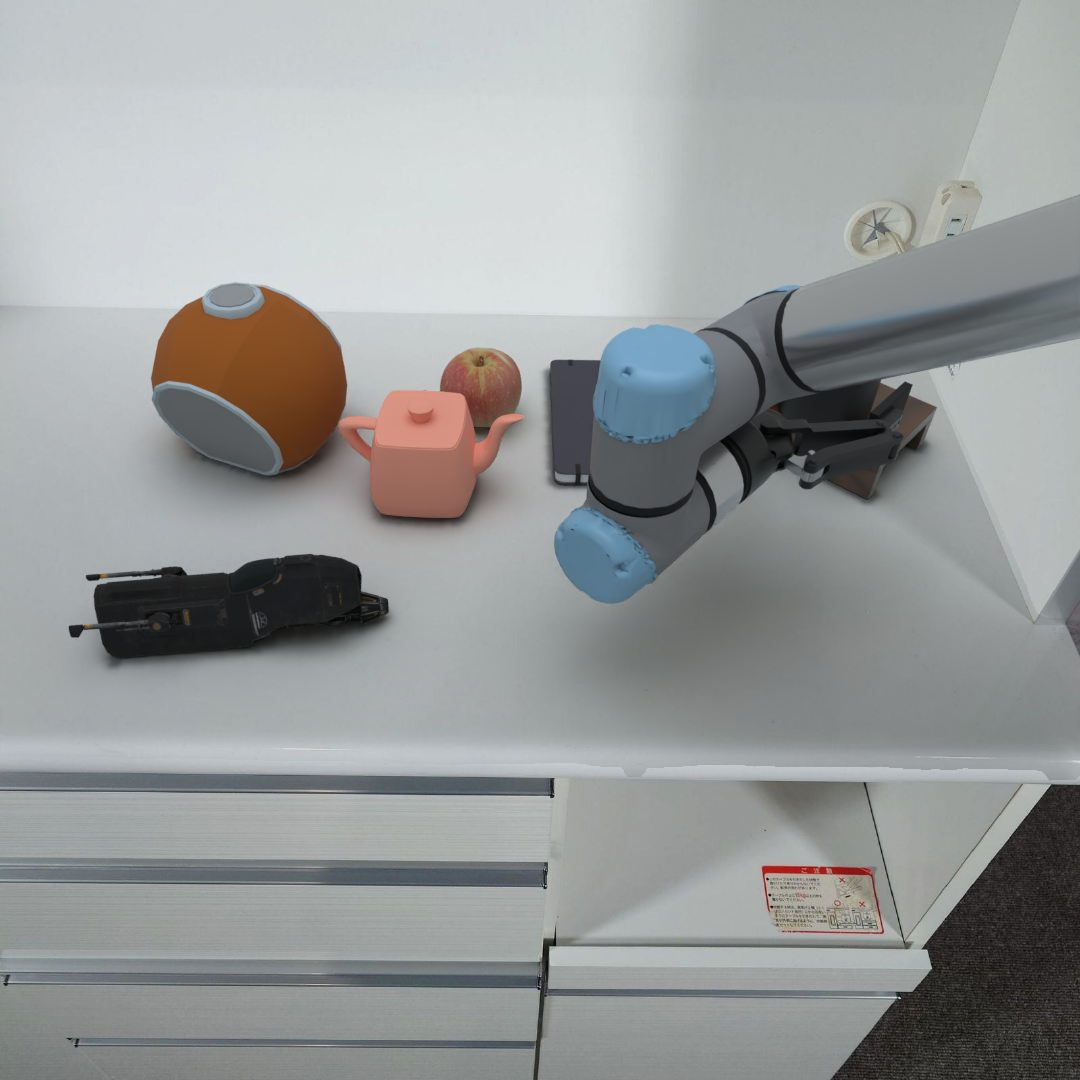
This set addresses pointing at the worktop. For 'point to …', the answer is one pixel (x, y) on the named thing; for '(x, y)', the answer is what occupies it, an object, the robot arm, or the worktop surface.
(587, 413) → the notebook
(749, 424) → the robot arm
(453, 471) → the teapot
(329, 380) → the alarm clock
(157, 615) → the black toy vehicle
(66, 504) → the worktop surface
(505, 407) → the apple
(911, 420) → the wooden stand
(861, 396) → the mug
